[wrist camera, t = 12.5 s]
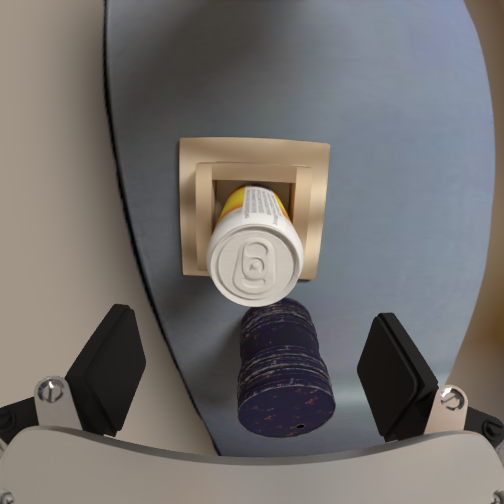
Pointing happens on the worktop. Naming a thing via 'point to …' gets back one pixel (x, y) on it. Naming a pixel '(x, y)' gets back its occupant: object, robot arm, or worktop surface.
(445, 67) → the worktop surface
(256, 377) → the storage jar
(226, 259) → the beer can
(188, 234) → the can holder
